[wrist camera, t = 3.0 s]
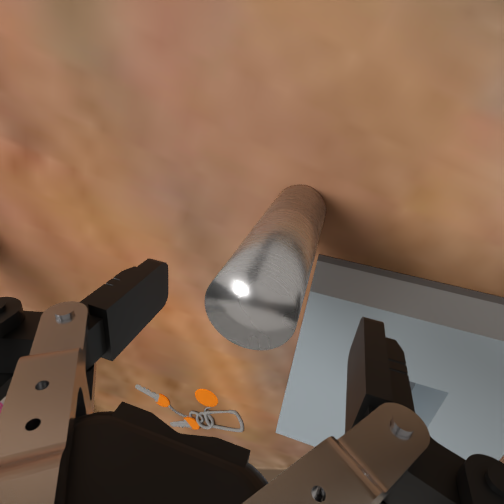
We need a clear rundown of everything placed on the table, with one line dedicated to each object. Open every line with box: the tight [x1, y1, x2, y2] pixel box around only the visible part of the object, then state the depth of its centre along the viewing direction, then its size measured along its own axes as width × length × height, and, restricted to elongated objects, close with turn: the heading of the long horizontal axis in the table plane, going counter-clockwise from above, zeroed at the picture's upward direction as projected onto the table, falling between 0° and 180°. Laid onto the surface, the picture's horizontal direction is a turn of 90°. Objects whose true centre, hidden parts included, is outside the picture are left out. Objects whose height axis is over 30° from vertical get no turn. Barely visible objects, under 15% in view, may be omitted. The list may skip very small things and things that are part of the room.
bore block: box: [276, 254, 504, 461], centre depth 23 cm, size 14×14×5 cm
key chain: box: [135, 385, 244, 432], centre depth 36 cm, size 13×7×1 cm, turn 103°
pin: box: [205, 185, 326, 350], centre depth 17 cm, size 4×4×12 cm
